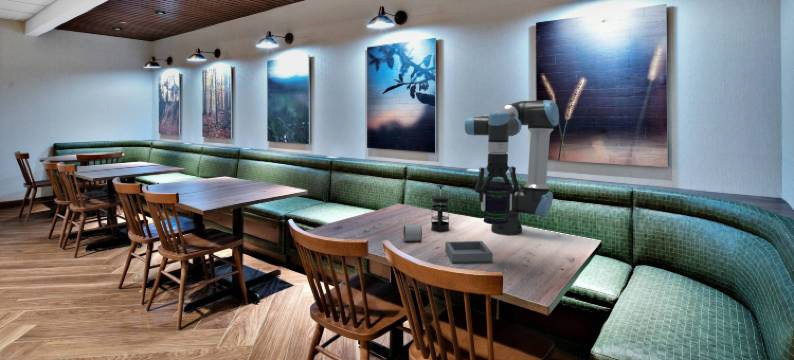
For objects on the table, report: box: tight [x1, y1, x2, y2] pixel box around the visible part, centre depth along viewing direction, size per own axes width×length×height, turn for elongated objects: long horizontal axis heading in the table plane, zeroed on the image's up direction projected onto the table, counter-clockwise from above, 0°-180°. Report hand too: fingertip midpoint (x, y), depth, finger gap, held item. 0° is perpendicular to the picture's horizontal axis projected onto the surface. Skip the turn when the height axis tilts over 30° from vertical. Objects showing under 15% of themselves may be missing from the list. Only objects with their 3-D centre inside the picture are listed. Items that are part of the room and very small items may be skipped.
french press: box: [430, 184, 450, 233], centre depth 211 cm, size 12×9×23 cm
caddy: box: [444, 240, 493, 264], centre depth 172 cm, size 16×16×4 cm
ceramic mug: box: [402, 224, 423, 242], centre depth 196 cm, size 11×8×8 cm
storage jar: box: [482, 181, 510, 225], centre depth 162 cm, size 10×10×15 cm
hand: (496, 209), depth 162 cm, fingers closed on storage jar, 10 cm apart
